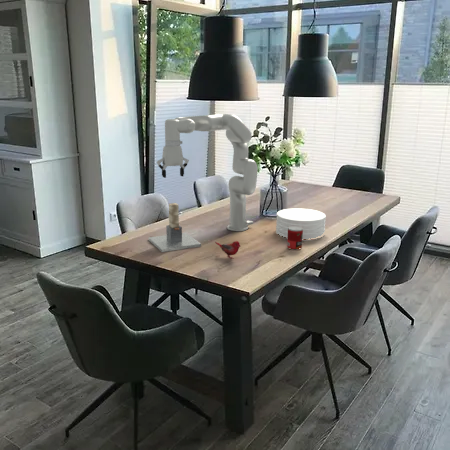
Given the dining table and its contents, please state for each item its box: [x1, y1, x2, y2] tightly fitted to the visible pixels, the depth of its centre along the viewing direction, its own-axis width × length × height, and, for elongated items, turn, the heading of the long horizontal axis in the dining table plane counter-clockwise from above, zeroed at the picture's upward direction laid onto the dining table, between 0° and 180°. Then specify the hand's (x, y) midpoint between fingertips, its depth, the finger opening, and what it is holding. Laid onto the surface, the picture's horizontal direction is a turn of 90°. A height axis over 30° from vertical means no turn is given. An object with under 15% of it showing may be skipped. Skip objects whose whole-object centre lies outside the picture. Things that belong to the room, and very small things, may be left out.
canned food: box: [286, 226, 303, 250], centre depth 264 cm, size 8×8×11 cm
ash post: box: [168, 202, 180, 228], centre depth 268 cm, size 4×4×20 cm
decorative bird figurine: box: [214, 240, 241, 259], centre depth 249 cm, size 3×18×10 cm, turn 47°
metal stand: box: [148, 224, 202, 253], centre depth 270 cm, size 22×22×10 cm
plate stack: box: [275, 207, 327, 239], centre depth 290 cm, size 28×28×12 cm
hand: (173, 176), depth 261 cm, fingers open, 9 cm apart
